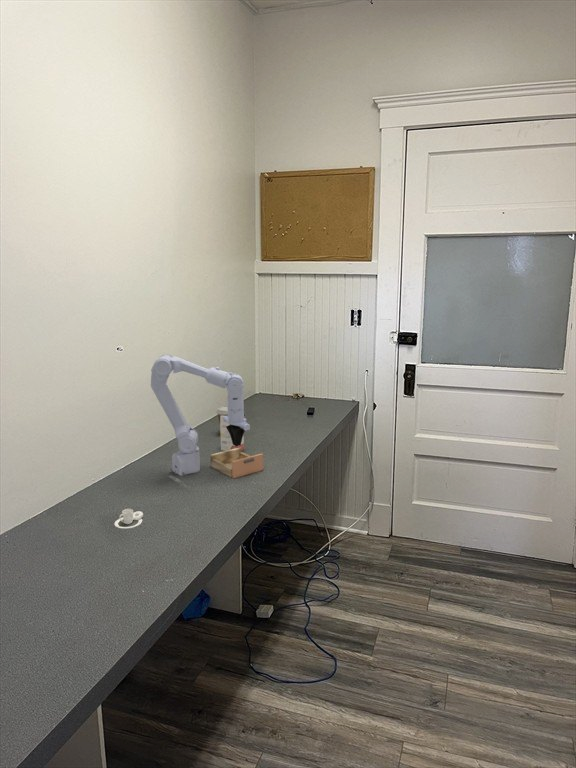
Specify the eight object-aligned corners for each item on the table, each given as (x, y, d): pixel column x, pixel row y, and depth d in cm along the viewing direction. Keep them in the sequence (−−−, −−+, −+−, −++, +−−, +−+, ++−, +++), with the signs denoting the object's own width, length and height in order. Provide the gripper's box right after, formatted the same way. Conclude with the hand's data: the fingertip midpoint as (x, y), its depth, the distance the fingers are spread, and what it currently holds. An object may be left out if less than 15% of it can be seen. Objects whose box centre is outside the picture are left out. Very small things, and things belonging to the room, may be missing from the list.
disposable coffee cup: (216, 437, 245) (215, 411, 242) (218, 431, 254) (217, 405, 252) (238, 437, 245) (237, 410, 243) (239, 430, 254) (238, 405, 252)
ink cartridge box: (244, 449, 229) (243, 414, 226) (238, 453, 225) (237, 418, 222) (227, 446, 233) (226, 412, 230) (220, 450, 229) (219, 415, 226)
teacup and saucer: (141, 514, 172) (140, 502, 171) (148, 525, 165) (147, 512, 164) (112, 521, 168) (111, 508, 167) (117, 532, 161) (116, 519, 160)
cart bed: (231, 481, 196) (231, 465, 195) (210, 470, 207) (210, 454, 206) (261, 472, 204) (261, 457, 203) (240, 462, 215) (239, 447, 214)
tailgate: (234, 478, 195) (234, 462, 193) (232, 477, 196) (231, 461, 195) (264, 470, 202) (264, 454, 201) (261, 469, 204) (261, 453, 202)
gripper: (256, 410, 197) (257, 447, 200) (234, 402, 208) (235, 438, 211) (239, 414, 192) (241, 451, 195) (217, 406, 203) (219, 441, 206)
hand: (236, 445), depth 203 cm, fingers closed
